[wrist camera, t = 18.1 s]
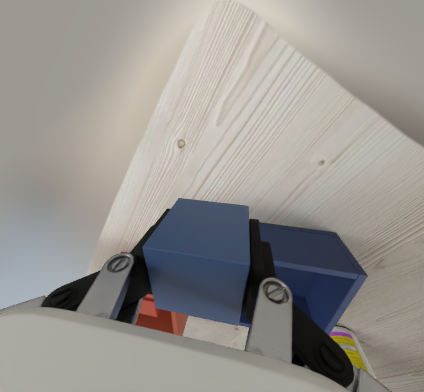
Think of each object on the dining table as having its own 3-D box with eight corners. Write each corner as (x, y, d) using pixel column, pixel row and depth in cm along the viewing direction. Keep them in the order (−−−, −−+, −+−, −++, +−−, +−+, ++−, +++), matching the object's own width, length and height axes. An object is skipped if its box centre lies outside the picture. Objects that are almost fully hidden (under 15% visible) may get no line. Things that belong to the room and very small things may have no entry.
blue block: (182, 248, 13) (155, 308, 9) (178, 197, 11) (141, 247, 7) (240, 257, 12) (238, 326, 9) (248, 205, 10) (250, 264, 6)
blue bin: (227, 281, 31) (223, 321, 25) (234, 219, 25) (230, 253, 19) (307, 296, 29) (323, 344, 23) (336, 232, 23) (368, 275, 17)
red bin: (133, 295, 39) (113, 328, 33) (121, 251, 33) (93, 282, 27) (190, 308, 37) (179, 346, 31) (188, 263, 31) (174, 300, 25)
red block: (147, 289, 35) (134, 312, 31) (144, 275, 33) (130, 297, 29) (167, 294, 35) (157, 317, 31) (165, 279, 33) (154, 302, 29)
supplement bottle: (306, 330, 33) (338, 445, 21) (340, 320, 30) (398, 448, 18) (328, 347, 34) (369, 466, 22) (363, 339, 31) (430, 471, 19)
